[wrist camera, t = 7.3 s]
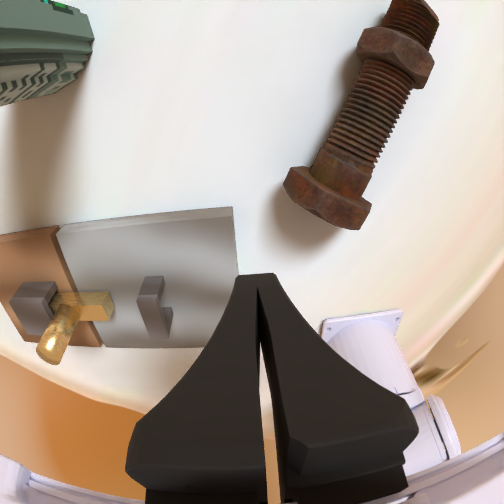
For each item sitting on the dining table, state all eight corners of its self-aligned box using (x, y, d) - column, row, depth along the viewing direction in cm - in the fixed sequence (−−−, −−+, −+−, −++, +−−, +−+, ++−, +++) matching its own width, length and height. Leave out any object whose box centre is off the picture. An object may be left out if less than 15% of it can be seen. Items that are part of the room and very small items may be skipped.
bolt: (399, 20, 15) (317, 191, 22) (360, -22, 12) (266, 179, 18) (470, 39, 11) (376, 237, 18) (444, -12, 8) (330, 232, 15)
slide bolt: (115, 308, 22) (93, 368, 17) (34, 308, 22) (6, 357, 17) (107, 289, 21) (81, 349, 16) (25, 291, 21) (-6, 340, 16)
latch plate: (244, 332, 27) (246, 370, 23) (29, 331, 26) (15, 359, 23) (232, 206, 20) (231, 237, 17) (-18, 238, 20) (-43, 262, 16)
